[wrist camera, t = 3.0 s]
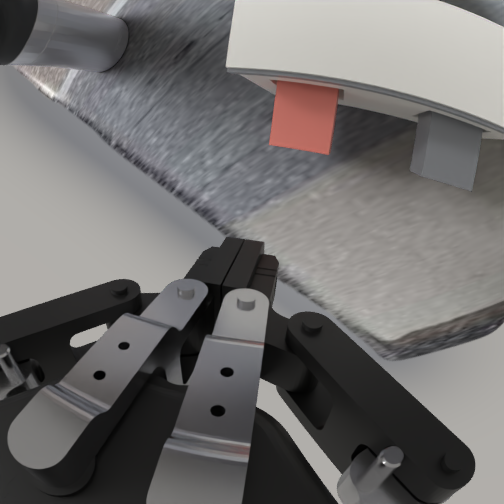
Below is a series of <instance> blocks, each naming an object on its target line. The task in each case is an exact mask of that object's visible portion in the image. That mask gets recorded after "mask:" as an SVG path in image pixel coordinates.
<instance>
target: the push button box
mask: <svg viewBox="0 0 504 504" xmlns="http://www.w3.org/2000/svg"><path fill="white" fill-rule="evenodd" d="M226 68H227V72H228V73H230V74H239V75H241V76H243V77H245V78H246V79H248V80H250V81H252V82H253V83H255V84H257V85H258V86H260V87H262V88H264V89H265V90H267V91H269V92H270V93H272V94H274V95H276V88H277V80H280V81H289V82H297V83H305V84H312V85H319V86H326V87H332V88H338V89H339V99H338V104H340V105H345V106H351V107H356V108H360V109H365V110H370V111H374V112H379V113H383V114H387V115H391V116H395V117H399V118H403V119H407V120H410V121H414V122H417V123H418V115H419V113H422V112H426V111H429V110H430V111H433V112H437V113H440V114H443V115H446V116H449V117H452V118H455V119H458V120H461V121H463V122H466V123H469V124H472V125H474V126H477V127H480V128H482V129H483V132H482V138H487V139H502V140H504V27H503V26H500V25H498V24H496V23H494V22H492V21H490V20H488V19H485V18H483V17H481V16H478V15H476V14H474V13H471V12H469V11H466V10H464V9H461V8H459V7H456V6H453V5H450V4H448V3H445V2H442V1H439V0H235V7H234V13H233V19H232V25H231V32H230V39H229V46H228V53H227V60H226Z"/></svg>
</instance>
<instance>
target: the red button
mask: <svg viewBox="0 0 504 504" xmlns="http://www.w3.org/2000/svg"><path fill="white" fill-rule="evenodd" d="M338 99H339V89H338V88H332V87H326V86H319V85H312V84H305V83H297V82H289V81H280V80H277V88H276V96H275V103H274V111H273V119H272V126H271V134H270V141H269V145H273V146H280V147H286V148H293V149H299V150H305V151H310V152H316V153H321V154H327V155H329V154H330V153H331V147H332V141H333V134H334V127H335V120H336V113H337V106H338Z"/></svg>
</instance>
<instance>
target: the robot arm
mask: <svg viewBox="0 0 504 504" xmlns="http://www.w3.org/2000/svg"><path fill="white" fill-rule="evenodd" d="M128 36H129V33H128V27H127V25H126V23H125V22H124V21H123V20H122V19H120V18H117V17H114V16H112V15H109V14H106V13H103V12H100V11H97V10H94V9H91V8H88V7H85V6H82V5H78V4H75V3H72V2H68V1H65V0H0V65H23V66H24V65H26V66H44V67H57V68H68V69H77V70H85V71H93V72H103V71H105V70H108V69H109V68H111V67H112V66H113V65H115V64H116V63H117V62H118V60H119V59H120V58H121V56H122V55H123V53H124V51H125V49H126V46H127V43H128ZM278 266H279V262H278V260H277V259H276V257H275V256H273V255H266V254H264V242H260V241H253V240H245V239H240V238H233V237H226V239H225V240H224V242H223V243H222V245H221V246H220V248H219V247H211V248H209V249H207V250H205V251H203V253H202V254H201V255H200V257H199V259H197V261H196V262H195V264H194V265H193V266H192V268H191V269H190V270H189V272H188V273H187V275H186V276H185V277H184V279H179V280H176V281H173V282H171V283H170V284H168V285H167V286H166V287H165V289H164V290H163V291H162V292H161V293H141V291H140V286H139V285H138V284H137V283H136V282H134V281H132V280H127V279H119V280H114V281H111V282H107V283H105V284H101V285H98V286H95V287H92V288H88V289H85V290H82V291H79V292H76V293H73V294H70V295H66V296H64V297H60V298H57V299H54V300H51V301H48V302H45V303H42V304H39V305H36V306H32V307H29V308H26V309H23V310H20V311H17V312H15V313H11V314H8V315H5V316H2V317H0V504H338V503H337V501H336V500H335V499H334V497H333V496H332V495H331V493H330V492H329V490H328V489H327V488H326V486H325V485H324V484H323V482H322V481H321V479H320V478H319V477H318V475H317V474H316V473H315V471H314V470H313V468H312V467H311V466H310V464H309V463H308V461H307V460H306V458H305V457H304V455H303V454H302V453H301V451H300V450H299V448H298V447H297V445H296V444H295V442H294V441H293V439H292V438H291V437H290V435H289V433H288V432H287V431H286V430H285V428H284V427H283V426H282V425H281V424H280V423H279V422H278V421H277V420H276V419H274V418H273V417H272V416H270V415H269V414H267V413H266V412H265V411H263V410H261V409H259V408H257V407H256V402H257V394H258V387H259V380H260V378H261V379H263V380H265V381H268V382H270V383H272V384H274V385H276V388H277V391H278V393H279V395H280V396H281V398H282V399H283V400H284V402H285V403H286V404H287V406H288V407H289V408H290V409H291V411H292V412H293V413H294V415H295V416H296V417H297V418H298V420H299V421H300V423H301V424H302V425H303V426H304V428H305V429H306V430H307V432H308V433H309V434H310V435H311V437H312V438H313V439H314V440H315V442H316V443H317V444H318V445H319V447H320V448H321V449H322V450H323V452H324V453H325V454H326V455H327V457H328V458H329V459H330V460H331V462H332V463H333V464H334V465H335V466H336V468H337V469H338V470H339V471H340V472H341V474H342V475H341V477H340V479H339V481H338V484H337V493H338V496H339V498H340V499H341V501H342V503H343V504H442V503H444V502H445V501H446V500H448V499H449V498H450V497H451V496H452V495H453V494H454V493H455V492H456V491H458V490H459V489H461V488H462V487H463V486H465V485H466V484H467V483H468V482H469V481H470V480H471V478H472V477H473V474H474V472H475V459H474V456H473V454H472V452H471V450H470V449H469V448H468V447H467V446H466V445H465V444H464V443H463V442H462V441H461V440H460V439H459V438H457V436H456V435H454V434H453V433H452V432H451V431H450V430H449V429H448V428H447V427H446V426H445V425H444V424H443V423H442V422H440V421H439V420H438V419H437V418H436V417H435V416H434V415H433V414H432V413H431V412H430V411H429V410H427V409H426V408H425V407H424V406H423V405H422V404H421V403H420V402H419V401H418V400H417V399H416V398H415V397H414V396H412V395H411V394H410V393H409V392H408V391H407V390H406V389H405V388H404V387H403V386H402V385H401V384H399V383H398V382H397V381H396V380H395V379H394V378H393V377H392V376H391V375H390V374H389V373H388V372H387V371H385V370H384V369H383V368H382V367H381V366H380V365H379V364H378V363H377V362H375V360H373V359H372V358H371V357H370V356H369V355H368V354H367V353H366V352H365V351H364V350H363V349H362V348H360V347H359V346H358V345H357V344H356V343H355V342H354V341H353V340H352V339H350V337H349V336H348V335H347V334H345V333H344V332H343V331H342V330H341V329H340V328H339V327H338V326H336V324H335V323H333V322H332V321H331V320H330V319H329V318H327V317H326V316H324V315H322V314H319V313H315V312H300V313H297V314H295V315H293V316H292V317H291V318H290V319H288V318H285V317H283V316H281V315H279V314H278V313H276V312H275V311H274V310H273V309H272V304H273V300H274V296H275V289H276V282H277V274H278ZM105 323H106V325H107V329H108V330H107V331H106V332H105V333H104V335H103V336H102V337H101V338H100V339H99V340H98V341H95V342H92V343H89V344H87V345H84V346H81V347H78V348H74V347H71V346H70V339H71V338H72V337H73V336H74V335H75V334H77V333H80V332H83V331H85V330H88V329H91V328H94V327H97V326H99V325H102V324H105Z"/></svg>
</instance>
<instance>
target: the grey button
mask: <svg viewBox="0 0 504 504" xmlns="http://www.w3.org/2000/svg"><path fill="white" fill-rule="evenodd" d="M482 132H483V129H482V128H480V127H477V126H474V125H472V124H469V123H466V122H463V121H461V120H458V119H455V118H452V117H449V116H446V115H443V114H440V113H437V112H433V111H430V110H429V111H426V112H422V113H419V115H418V123H417V130H416V136H415V142H414V148H413V154H412V160H411V165H410V170H409V171H411V172H413V173H415V174H417V175H419V176H421V177H425V178H428V179H432V180H435V181H439V182H442V183H445V184H449V185H452V186H455V187H458V188H462V189H465V190H468V191H471V192H472V188H473V183H474V179H475V174H476V169H477V163H478V158H479V152H480V146H481V139H482Z"/></svg>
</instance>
